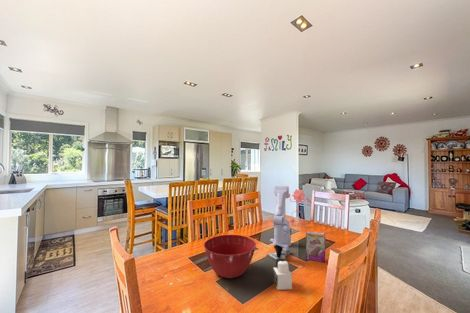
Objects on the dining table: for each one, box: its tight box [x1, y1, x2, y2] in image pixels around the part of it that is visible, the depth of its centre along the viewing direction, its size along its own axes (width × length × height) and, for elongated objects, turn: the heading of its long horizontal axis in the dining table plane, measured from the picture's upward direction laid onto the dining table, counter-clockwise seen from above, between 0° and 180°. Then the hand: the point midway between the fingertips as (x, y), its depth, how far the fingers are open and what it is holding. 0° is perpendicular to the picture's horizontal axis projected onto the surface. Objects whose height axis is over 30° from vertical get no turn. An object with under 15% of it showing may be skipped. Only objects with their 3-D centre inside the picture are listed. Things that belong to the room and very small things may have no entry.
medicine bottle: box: [272, 258, 293, 291], centre depth 101 cm, size 7×7×12 cm
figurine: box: [286, 188, 312, 227], centre depth 204 cm, size 15×26×35 cm, turn 51°
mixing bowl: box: [203, 234, 257, 279], centre depth 114 cm, size 28×28×16 cm
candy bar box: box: [305, 231, 326, 263], centre depth 129 cm, size 11×5×16 cm, turn 71°
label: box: [268, 252, 281, 259], centre depth 132 cm, size 4×7×1 cm, turn 30°
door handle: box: [281, 248, 289, 260], centre depth 132 cm, size 14×4×3 cm, turn 160°
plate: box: [266, 251, 289, 261], centre depth 133 cm, size 10×9×1 cm
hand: (278, 257), depth 128 cm, fingers closed, pressing on door handle
